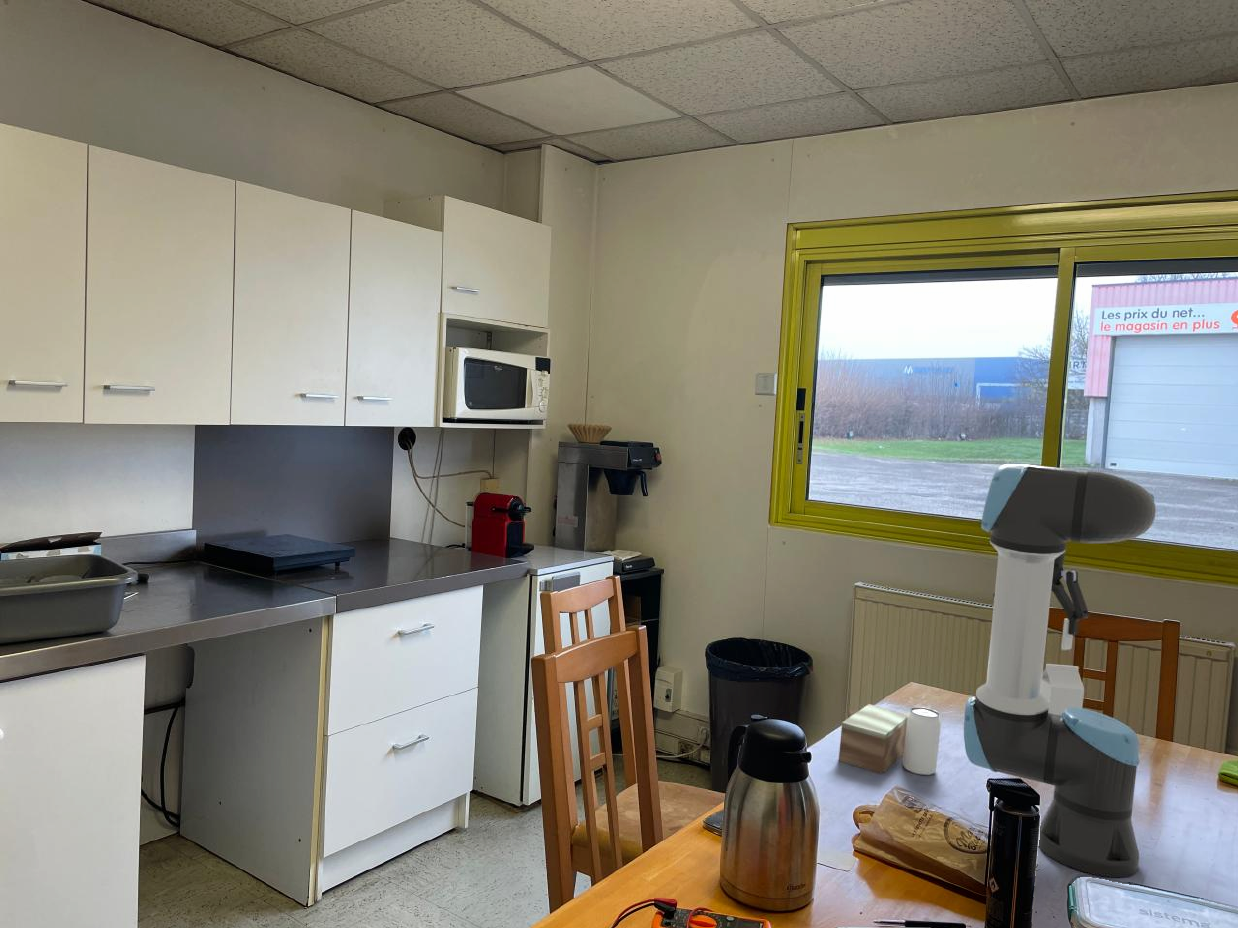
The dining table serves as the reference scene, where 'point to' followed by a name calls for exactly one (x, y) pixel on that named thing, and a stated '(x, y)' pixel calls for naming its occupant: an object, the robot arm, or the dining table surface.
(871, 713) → the stand
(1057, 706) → the milk carton
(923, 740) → the can
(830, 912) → the dining table surface
